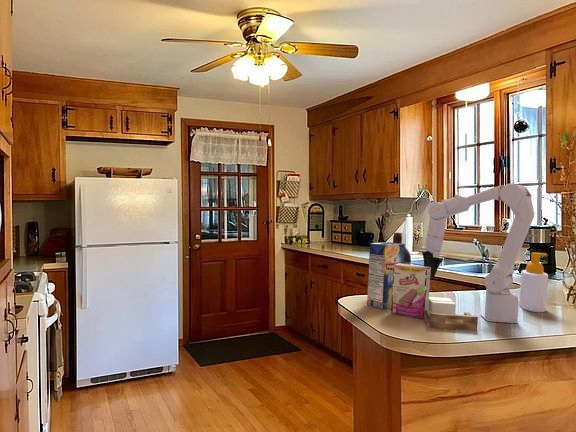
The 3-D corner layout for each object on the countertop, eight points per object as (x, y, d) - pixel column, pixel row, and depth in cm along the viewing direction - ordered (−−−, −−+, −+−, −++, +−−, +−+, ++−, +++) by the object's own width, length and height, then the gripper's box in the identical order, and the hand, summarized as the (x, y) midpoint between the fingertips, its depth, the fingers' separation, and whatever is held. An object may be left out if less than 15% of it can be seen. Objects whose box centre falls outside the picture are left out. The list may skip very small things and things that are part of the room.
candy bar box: (390, 314, 156) (392, 264, 155) (395, 311, 160) (397, 262, 160) (424, 319, 150) (427, 268, 150) (428, 316, 155) (431, 266, 154)
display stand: (468, 322, 149) (469, 309, 149) (477, 330, 140) (478, 317, 140) (424, 319, 151) (425, 306, 151) (430, 327, 141) (431, 314, 141)
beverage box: (366, 305, 167) (369, 243, 166) (386, 301, 174) (389, 242, 173) (382, 309, 162) (385, 245, 161) (401, 305, 169) (405, 244, 168)
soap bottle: (550, 313, 166) (554, 255, 165) (525, 311, 167) (529, 254, 166) (538, 305, 178) (542, 251, 178) (515, 303, 180) (518, 250, 179)
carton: (448, 310, 164) (449, 298, 164) (454, 317, 155) (455, 303, 155) (426, 309, 165) (427, 296, 165) (431, 315, 156) (431, 302, 156)
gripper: (420, 231, 175) (414, 267, 177) (427, 237, 161) (421, 276, 162) (439, 234, 174) (433, 270, 176) (448, 240, 160) (442, 279, 162)
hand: (429, 273), depth 169 cm, fingers open, 7 cm apart
